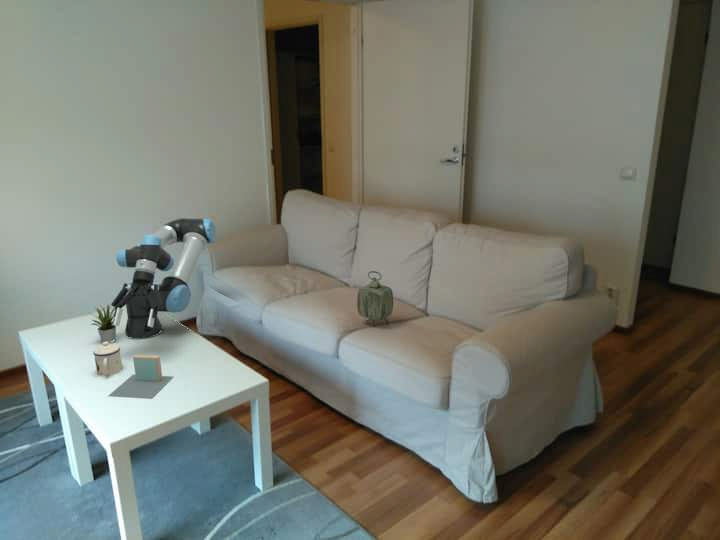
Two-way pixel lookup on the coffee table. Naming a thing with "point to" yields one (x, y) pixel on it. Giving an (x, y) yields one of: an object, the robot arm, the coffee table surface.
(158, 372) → the tile
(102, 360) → the teacup with lid
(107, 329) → the house plant
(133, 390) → the mat
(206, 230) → the robot arm
